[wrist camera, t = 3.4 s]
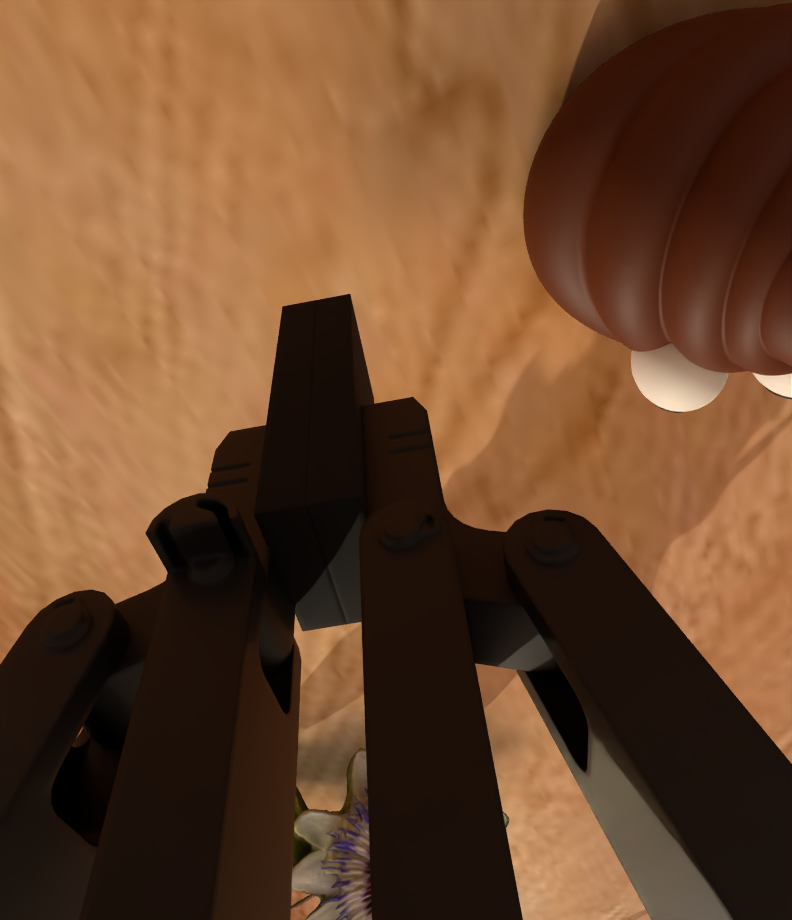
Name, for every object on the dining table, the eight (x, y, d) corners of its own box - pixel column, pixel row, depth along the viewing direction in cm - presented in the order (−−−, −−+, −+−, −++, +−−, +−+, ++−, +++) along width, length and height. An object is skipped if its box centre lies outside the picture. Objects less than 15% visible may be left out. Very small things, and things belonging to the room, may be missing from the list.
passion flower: (399, 654, 40) (556, 813, 33) (356, 773, 45) (486, 933, 38) (236, 731, 32) (396, 958, 25) (204, 864, 37) (332, 1087, 30)
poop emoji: (942, -26, 16) (1465, 23, 8) (824, 307, 21) (1081, 510, 14) (519, 21, 16) (680, 110, 8) (510, 342, 21) (604, 564, 14)
